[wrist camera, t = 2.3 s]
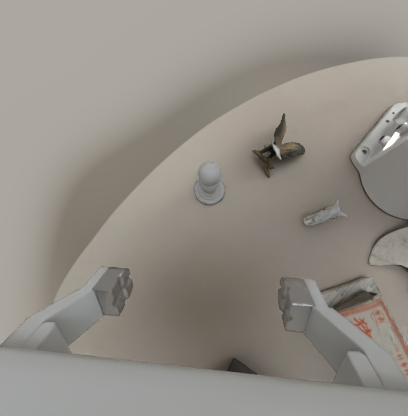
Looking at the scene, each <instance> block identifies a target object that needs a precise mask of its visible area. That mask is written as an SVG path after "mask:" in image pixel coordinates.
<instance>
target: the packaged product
mask: <svg viewBox="0 0 408 416" xmlns="http://www.w3.org/2000/svg"><path fill="white" fill-rule="evenodd" d="M321 294H322V295H323V297H324V299H325V301H326V303H327V305H328V307H329V308H333V309H334V310H336V311H337V312H338V313H339V314H341V315H342V316H343V317H345V318H346V319H347V320H348V321H350V322H351V323H352V324H353V325H355V326H356V327H357V328H359V329H360V330H361V331H362V332H364V333H365V334H366V335H367V336H369V337H370V338H371V339H372V340H374V341H375V342H376V343H378V344H379V345H380V346H381V347H383V348H384V349H385V350H386V351H388V352H389V353H390V354H391V355H392V357H393V358H394V360H395V361H396V363H397V364H398V366H399V367H400V369H401V370H402V372H403V373H404V375H405V376H406V378H407V379H408V347H407V345H406V343H405V342H404V340H403V337H402V335H401V333H400V331H399V329H398V328H397V326H396V323H395V321H394V320H393V318H392V317H391V314H390V312H389V309H388V307H387V305H386V303H385V302H384V300H383V298H382V296H381V294H380V292H379V289H378V288H377V286H376V284H375V282H374V280H373V278H372V277H364V278H361V279H358V280H355V281H352V282H349V283H347V284H344V285H341V286H338V287H335V288H332V289H329V290H326V291H323V292H321Z"/></svg>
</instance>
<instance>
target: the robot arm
mask: <svg viewBox="0 0 408 416" xmlns="http://www.w3.org/2000/svg"><path fill="white" fill-rule="evenodd" d="M362 152H363V153H362ZM351 160H352V162H353V164H354V165H355V167H356V168H357V169H358V171H359V173H360V177H361V181H362V184H363V187H364V189H365V191H366V193H367V195H368V196H369V198H370V199H371V200H372V201H373V202H374V203H375V204H376V205H377V206H378V207H379V208H380V209H382V210H383V211H385V212H386V213H388V214H390V215H392V216H395V217H398V218H401V219H406V220H408V103H396V104H394V105H393V106H391V107H390V108H389V109H388V110H387V111H386V113H385V114H384V115H383V116H382V118H381V119H380V120H379V121H378V122H377V124H376V125H375V126H374V127H373V128H372V130H371V131H370V132H369V133H368V134H367V136H366V137H365V138H364V139H363V141H362V142H361V143H360V144H359V145H358V147H357V148H356V149H355V150H354V151H353V153H352V154H351ZM129 275H130V271H129V269H127V268H117V267H103V266H102V267H100V268H99V269H98V270H97V271H96V273H95V274H94V275H93V276H92V277H91V279H90V280H89V281H88V282H87V283H86V285H85V286H84V287H83V288H82V289H78V290H76V291H75V292H73V293H71V294H69V295H68V296H66V297H64V298H62V299H60V300H59V301H57V302H55V303H53V304H52V305H50V306H48V307H46V308H45V309H43V310H41V311H39V312H37V313H36V314H34V315H32V316H30V317H29V318H27V319H26V320H25V321H24V322H23V323H22V324H21V325H20V326H19V327H18V328H17V329H16V330H15V331H14V332H13V333H12V334H11V335H10V336H9V337H8V338H7V339H6V340H5V341H4V342H3V343H2V344H1V345H0V416H408V379H407V378H406V376H405V375H404V373H403V372H402V370H401V369H400V367H399V366H398V364H397V363H396V361H395V360H394V358H393V357H392V355H391V354H390V353H389V352H388V351H386V350H385V349H384V348H383V347H381V346H380V345H379V344H378V343H376V342H375V341H374V340H372V339H371V338H370V337H369V336H367V335H366V334H365V333H364V332H362V331H361V330H360V329H359V328H357V327H356V326H355V325H353V324H352V323H351V322H350V321H348V320H347V319H346V318H345V317H343V316H342V315H341V314H339V313H338V312H337V311H336V310H334V309H333V308H329V307H328V305H327V303H326V301H325V299H324V297H323V295H322V294H321V292H320V290H319V288H318V286H317V284H316V282H315V280H313V279H303V278H302V279H301V278H282V277H281V279H280V286H281V288H280V289H278V305H279V309H280V310H281V311H282V312H283V314H282V320H283V324H284V327H285V331H292V332H301V333H304V334H305V335H306V337H307V338H308V339H309V340H310V341H311V343H312V344H313V345H314V346H315V347H316V348H317V350H318V351H319V352H320V353H321V354H322V356H323V357H324V358H325V359H326V360H327V362H328V363H329V364H330V365H331V366H332V367H333V369H334V370H335V371H336V372H337V374H336V376H335V378H334V380H333V382H332V383H326V382H317V381H308V380H300V379H291V378H282V377H273V376H264V375H255V374H247V373H238V372H229V371H220V370H211V369H202V368H194V367H185V366H176V365H167V364H158V363H149V362H140V361H131V360H122V359H114V358H105V357H96V356H87V355H78V354H72V353H71V351H70V349H69V347H68V346H69V345H70V344H71V343H73V342H74V341H75V340H76V339H77V338H78V337H80V336H81V335H82V334H83V333H84V332H85V331H87V330H88V329H89V328H90V327H91V326H92V325H94V324H95V323H96V322H97V321H98V320H99V319H101V318H102V317H103V315H110V316H119V315H120V313H121V311H122V310H123V308H124V306H125V302H124V301H125V300H126V299H128V298H129V297H130V295H131V292H132V288H133V282H132V279H131V278H130V277H129Z"/></svg>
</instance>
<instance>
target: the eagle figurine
mask: <svg viewBox="0 0 408 416" xmlns="http://www.w3.org/2000/svg"><path fill="white" fill-rule="evenodd" d="M285 131H286V122H285V114H283V116H282V120H281V123H280V125H279V126H278V127H277V128H276V131H275V133H274V137H275V141H274V142H273V143H272V142H271V144H267V145H265V146H264V147H266V148H264V149H263V150H261V151H256V150H252V151H253V153H255V154H256V155H257V156H258V157H259V159H260V161H261V162H262V164H263V167H264V169H265V172H266V175H267V176H268V177H269V178H270V175H269V171H268V169H269V170H272V169H274V167H273V166H272V165H271V164H270V161H271V159H272V158H273V157H274V156H275V155H276V156H277V157H278V158H279V159H280V160H282V159H281V156H280V154H281V155H282V156H283V157H293V156H294V155H296V154H297V155H298V154H302V155H303V154H304V153H305V149H304V147H303V146H302V145H300V143H293V142H292V143H285V144H283V145H282V144H281V142H282V139H283V137H284V134H285ZM267 151H270V152H271V154H270V155H269V156H268V158H267V157H264V155H262V153H265V152H267Z"/></svg>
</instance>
